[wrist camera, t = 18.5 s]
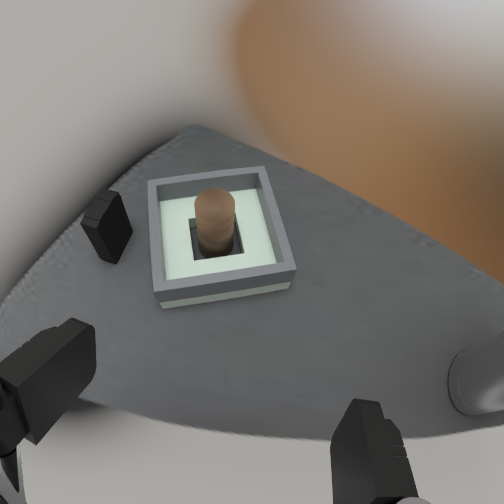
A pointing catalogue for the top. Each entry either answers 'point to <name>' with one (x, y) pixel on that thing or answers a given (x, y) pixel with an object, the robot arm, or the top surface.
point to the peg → (215, 222)
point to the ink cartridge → (107, 225)
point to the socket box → (220, 268)
